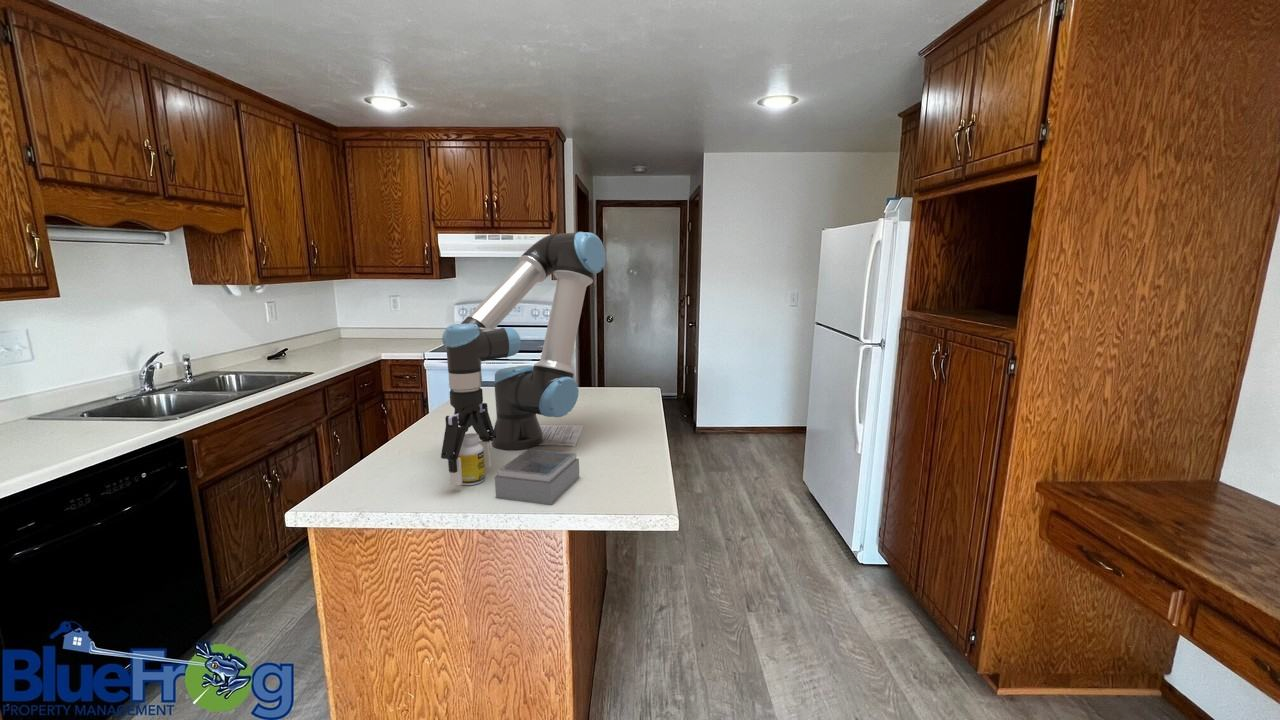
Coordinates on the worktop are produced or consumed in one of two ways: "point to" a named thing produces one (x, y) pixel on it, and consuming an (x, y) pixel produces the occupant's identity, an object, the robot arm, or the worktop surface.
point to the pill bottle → (472, 460)
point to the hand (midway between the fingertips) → (471, 474)
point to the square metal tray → (537, 476)
